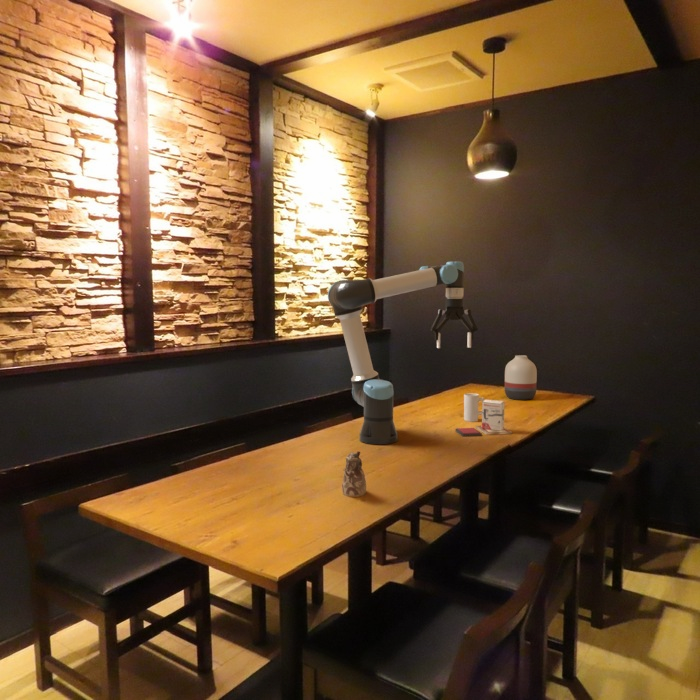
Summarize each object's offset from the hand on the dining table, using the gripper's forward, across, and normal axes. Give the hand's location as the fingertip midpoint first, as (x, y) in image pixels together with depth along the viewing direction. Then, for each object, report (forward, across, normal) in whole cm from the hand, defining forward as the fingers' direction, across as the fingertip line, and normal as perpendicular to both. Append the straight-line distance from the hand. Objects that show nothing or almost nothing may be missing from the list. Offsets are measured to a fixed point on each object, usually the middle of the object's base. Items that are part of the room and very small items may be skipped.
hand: (453, 347), depth 256 cm
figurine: (+35, -54, -79) cm, 102 cm away
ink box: (+34, +15, -9) cm, 38 cm away
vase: (+35, +58, +64) cm, 93 cm away
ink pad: (+35, +3, -12) cm, 37 cm away
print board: (+35, +15, -9) cm, 39 cm away
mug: (+35, +14, +12) cm, 39 cm away
